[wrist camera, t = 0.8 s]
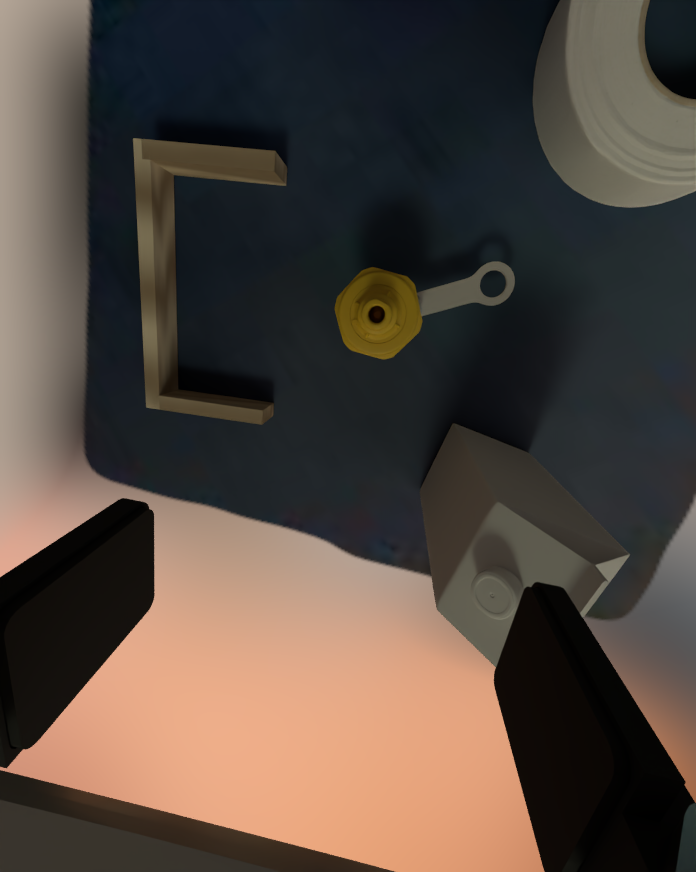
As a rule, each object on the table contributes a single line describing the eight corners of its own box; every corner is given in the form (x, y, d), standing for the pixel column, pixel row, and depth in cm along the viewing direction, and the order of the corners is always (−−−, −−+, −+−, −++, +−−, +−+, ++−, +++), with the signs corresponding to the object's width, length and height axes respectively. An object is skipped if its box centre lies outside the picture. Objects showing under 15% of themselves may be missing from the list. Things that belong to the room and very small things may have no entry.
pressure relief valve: (343, 289, 31) (320, 276, 21) (497, 243, 29) (548, 206, 19) (360, 356, 32) (345, 373, 23) (508, 318, 30) (560, 318, 20)
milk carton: (529, 452, 33) (691, 615, 15) (490, 519, 35) (590, 731, 17) (452, 421, 33) (522, 547, 15) (418, 490, 35) (443, 672, 17)
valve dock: (158, 155, 29) (133, 138, 27) (287, 167, 29) (275, 151, 26) (166, 400, 35) (146, 407, 33) (273, 415, 35) (262, 424, 32)
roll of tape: (776, 187, 26) (875, 153, 21) (530, 226, 28) (561, 205, 23) (829, -130, 21) (972, -277, 16) (532, -53, 24) (572, -159, 18)
